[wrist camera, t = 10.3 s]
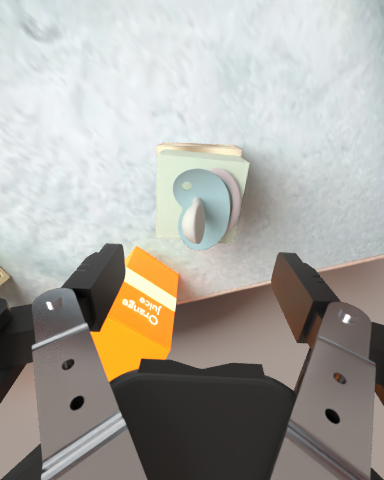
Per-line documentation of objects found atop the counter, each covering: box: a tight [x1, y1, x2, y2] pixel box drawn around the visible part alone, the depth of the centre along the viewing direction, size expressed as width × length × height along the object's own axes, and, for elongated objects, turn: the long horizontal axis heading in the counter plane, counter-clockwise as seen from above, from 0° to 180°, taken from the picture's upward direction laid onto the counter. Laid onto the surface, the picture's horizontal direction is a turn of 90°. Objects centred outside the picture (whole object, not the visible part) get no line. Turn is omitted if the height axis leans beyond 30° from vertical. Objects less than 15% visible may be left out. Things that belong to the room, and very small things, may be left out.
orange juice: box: [91, 246, 179, 381], centre depth 29 cm, size 8×9×20 cm
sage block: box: [156, 149, 250, 244], centre depth 23 cm, size 8×8×5 cm
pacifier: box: [173, 168, 241, 250], centre depth 18 cm, size 7×6×6 cm
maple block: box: [156, 142, 242, 157], centre depth 28 cm, size 9×9×6 cm
